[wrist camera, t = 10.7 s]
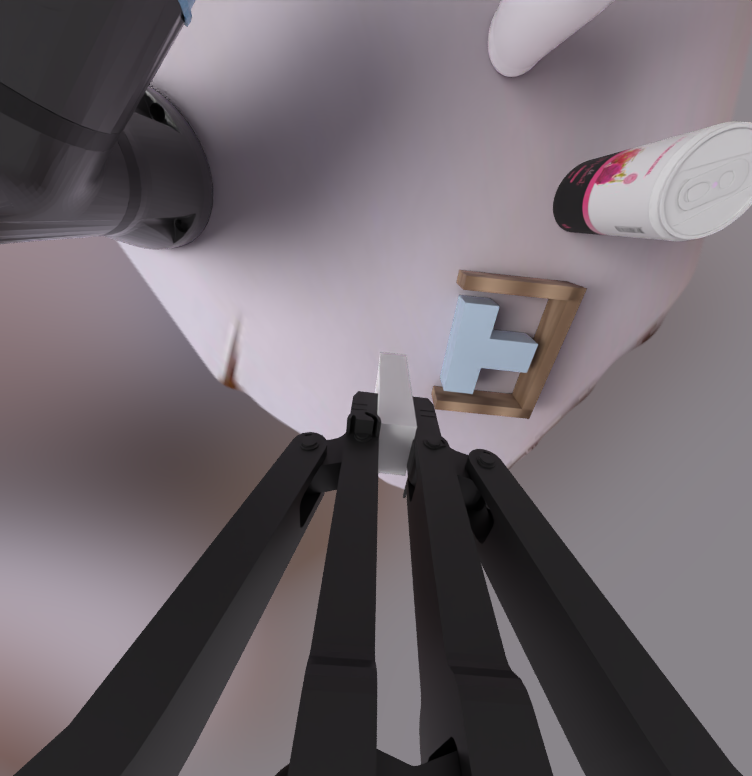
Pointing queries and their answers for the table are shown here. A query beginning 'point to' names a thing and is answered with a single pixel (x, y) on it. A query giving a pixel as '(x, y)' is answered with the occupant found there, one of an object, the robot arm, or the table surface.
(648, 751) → the robot arm
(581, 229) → the beverage can
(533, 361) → the walnut corral
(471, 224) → the table surface
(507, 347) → the tee block
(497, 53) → the white paper cup
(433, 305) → the table surface
